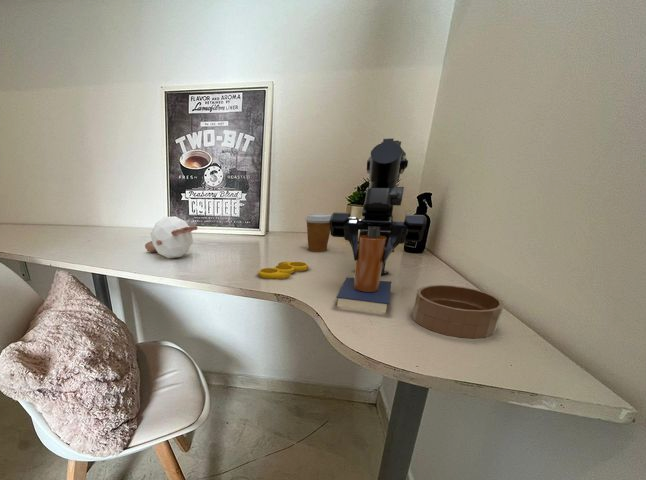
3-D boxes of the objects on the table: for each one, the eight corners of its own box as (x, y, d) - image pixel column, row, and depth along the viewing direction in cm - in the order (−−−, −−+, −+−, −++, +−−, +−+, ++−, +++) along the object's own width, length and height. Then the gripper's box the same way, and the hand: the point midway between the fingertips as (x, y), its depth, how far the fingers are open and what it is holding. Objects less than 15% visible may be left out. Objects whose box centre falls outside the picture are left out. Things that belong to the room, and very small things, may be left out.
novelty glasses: (249, 273, 94) (272, 282, 86) (249, 268, 93) (272, 276, 86) (293, 264, 102) (317, 271, 95) (293, 259, 102) (317, 266, 94)
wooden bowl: (442, 306, 70) (448, 281, 68) (510, 331, 59) (520, 302, 57) (396, 318, 65) (401, 291, 63) (462, 348, 54) (471, 317, 52)
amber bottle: (374, 284, 74) (383, 224, 69) (381, 292, 70) (391, 229, 64) (350, 284, 75) (357, 224, 69) (356, 292, 70) (364, 229, 65)
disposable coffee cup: (325, 254, 113) (328, 217, 108) (299, 251, 117) (301, 215, 113) (334, 248, 120) (337, 214, 115) (309, 245, 125) (311, 212, 120)
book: (345, 288, 81) (346, 277, 80) (389, 293, 77) (391, 281, 76) (335, 309, 69) (336, 296, 68) (386, 316, 66) (389, 303, 65)
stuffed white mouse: (173, 258, 126) (158, 222, 122) (215, 244, 108) (199, 202, 104) (142, 271, 117) (125, 232, 113) (182, 258, 99) (164, 212, 95)
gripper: (334, 172, 70) (320, 235, 65) (435, 171, 63) (427, 241, 58) (337, 207, 79) (324, 264, 75) (425, 209, 72) (417, 272, 68)
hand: (369, 260), depth 69 cm, fingers closed on amber bottle, 5 cm apart
